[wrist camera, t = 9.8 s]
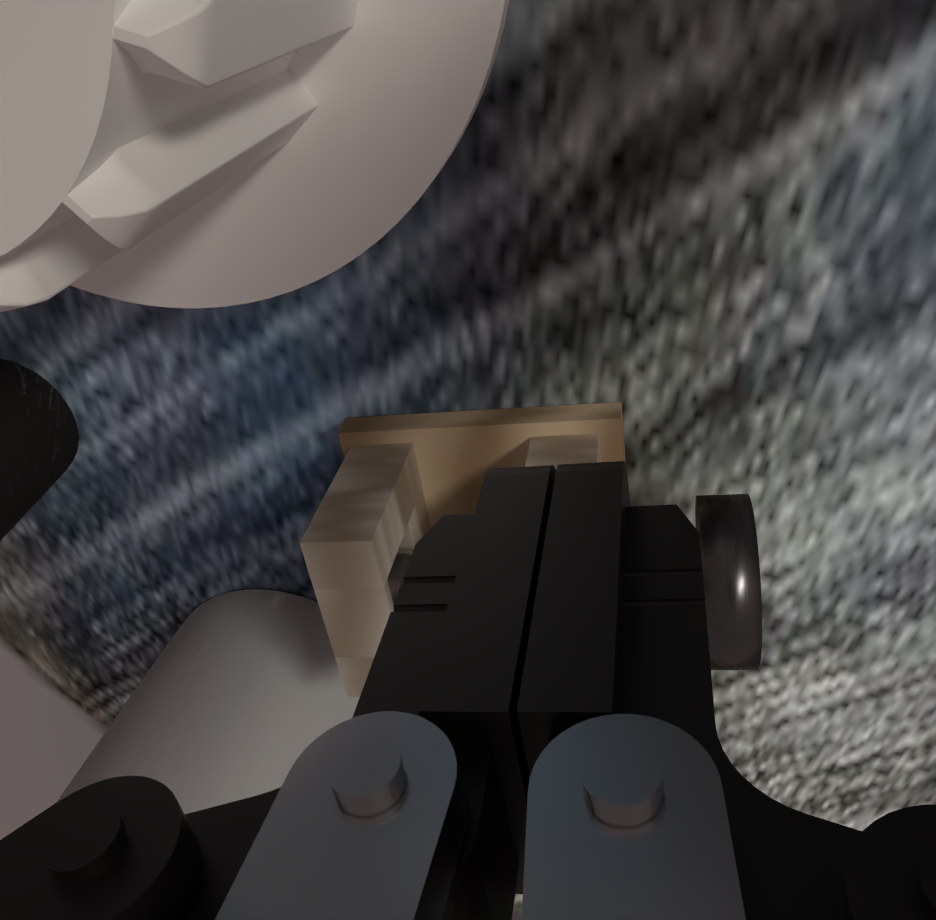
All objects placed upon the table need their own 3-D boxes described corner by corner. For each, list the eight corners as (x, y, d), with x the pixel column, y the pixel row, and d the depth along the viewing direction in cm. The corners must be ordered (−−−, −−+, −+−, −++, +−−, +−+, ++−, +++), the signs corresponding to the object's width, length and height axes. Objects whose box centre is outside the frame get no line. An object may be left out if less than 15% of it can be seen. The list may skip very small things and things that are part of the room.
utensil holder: (131, 678, 55) (-53, 956, 40) (224, 531, 47) (38, 811, 33) (331, 788, 58) (227, 1087, 43) (451, 666, 50) (373, 981, 35)
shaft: (743, 461, 36) (763, 567, 31) (742, 591, 40) (759, 708, 34) (335, 478, 40) (284, 574, 35) (367, 595, 44) (325, 700, 38)
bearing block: (621, 402, 39) (616, 519, 32) (633, 576, 44) (632, 713, 37) (346, 417, 42) (283, 528, 35) (387, 580, 47) (340, 707, 40)
